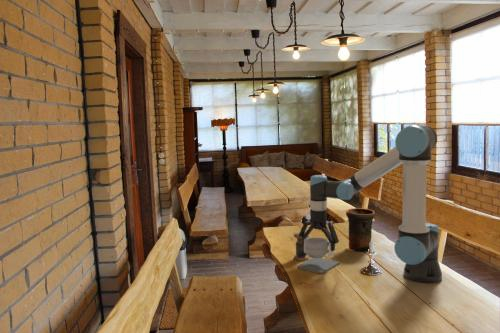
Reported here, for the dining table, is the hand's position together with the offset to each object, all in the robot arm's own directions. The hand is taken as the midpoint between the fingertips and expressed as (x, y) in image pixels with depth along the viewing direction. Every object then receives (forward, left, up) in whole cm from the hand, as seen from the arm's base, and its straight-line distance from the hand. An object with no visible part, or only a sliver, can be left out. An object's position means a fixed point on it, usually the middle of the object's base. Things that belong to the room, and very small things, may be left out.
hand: (318, 254), depth 196 cm
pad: (0, 0, -5) cm, 5 cm away
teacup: (-1, 0, -1) cm, 1 cm away
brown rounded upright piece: (+12, -4, -5) cm, 14 cm away
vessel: (-4, -35, -6) cm, 36 cm away
